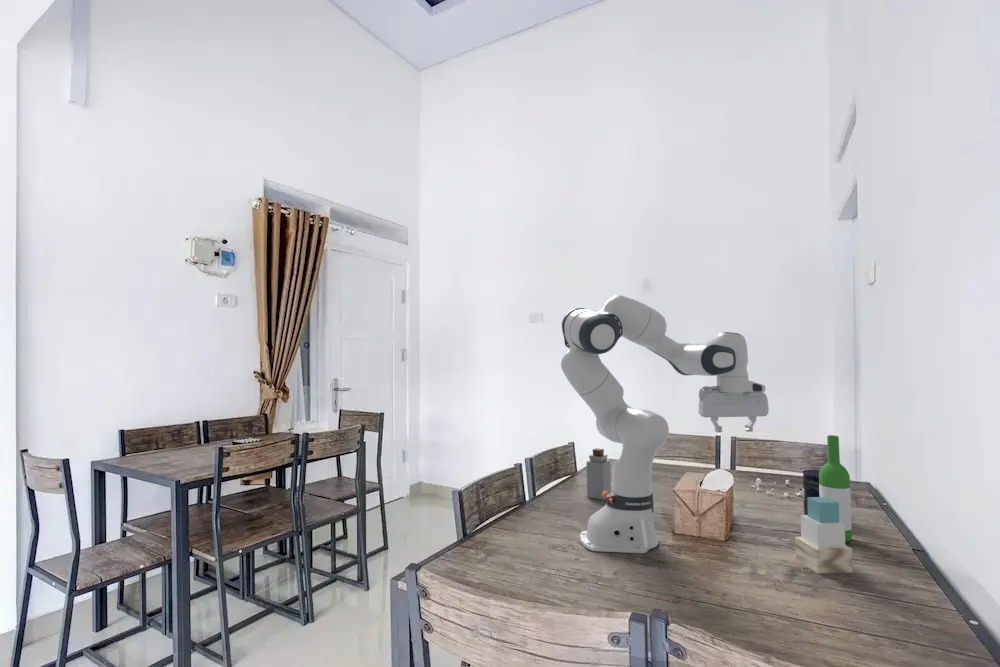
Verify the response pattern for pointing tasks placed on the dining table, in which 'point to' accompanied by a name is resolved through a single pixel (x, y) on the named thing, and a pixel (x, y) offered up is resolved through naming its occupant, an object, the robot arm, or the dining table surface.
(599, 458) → the perfume bottle
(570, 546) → the dining table surface
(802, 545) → the birch base block
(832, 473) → the wine bottle
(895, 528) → the dining table surface
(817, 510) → the teal cube
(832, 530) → the white middle block
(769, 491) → the game piece set
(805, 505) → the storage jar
